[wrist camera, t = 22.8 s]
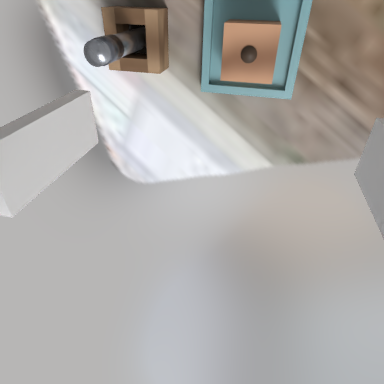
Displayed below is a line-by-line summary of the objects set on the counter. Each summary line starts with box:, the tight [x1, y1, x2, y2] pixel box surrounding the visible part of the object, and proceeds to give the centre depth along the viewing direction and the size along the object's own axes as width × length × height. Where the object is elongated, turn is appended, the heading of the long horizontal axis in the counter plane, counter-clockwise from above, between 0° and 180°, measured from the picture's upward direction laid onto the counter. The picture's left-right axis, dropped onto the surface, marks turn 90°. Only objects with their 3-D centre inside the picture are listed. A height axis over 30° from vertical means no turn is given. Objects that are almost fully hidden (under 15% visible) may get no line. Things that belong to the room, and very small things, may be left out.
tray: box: [201, 0, 312, 99], centre depth 36 cm, size 12×12×2 cm
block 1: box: [101, 6, 169, 74], centre depth 38 cm, size 7×7×4 cm
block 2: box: [220, 19, 282, 84], centre depth 35 cm, size 6×6×5 cm
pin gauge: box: [84, 27, 147, 67], centre depth 34 cm, size 3×3×13 cm
